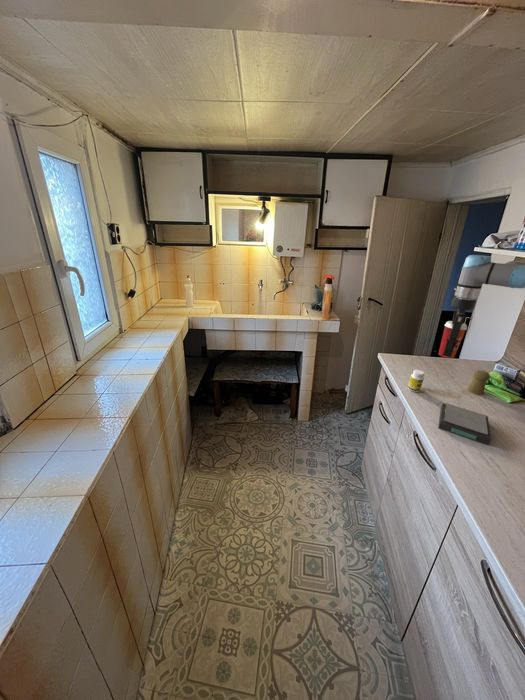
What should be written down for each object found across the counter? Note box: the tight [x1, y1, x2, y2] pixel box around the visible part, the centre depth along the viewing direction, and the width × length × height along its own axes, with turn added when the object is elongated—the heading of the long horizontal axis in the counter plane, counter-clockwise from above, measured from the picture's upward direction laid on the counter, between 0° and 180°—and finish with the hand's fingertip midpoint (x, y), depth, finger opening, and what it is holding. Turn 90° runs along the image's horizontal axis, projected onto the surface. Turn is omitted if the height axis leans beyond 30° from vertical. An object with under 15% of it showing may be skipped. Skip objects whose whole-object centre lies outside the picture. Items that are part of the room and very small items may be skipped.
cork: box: [466, 369, 491, 396], centre depth 114 cm, size 6×6×11 cm
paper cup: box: [438, 320, 468, 359], centre depth 114 cm, size 8×8×14 cm
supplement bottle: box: [407, 369, 425, 393], centre depth 117 cm, size 5×5×8 cm
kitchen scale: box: [437, 402, 492, 446], centre depth 97 cm, size 14×14×3 cm
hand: (447, 352), depth 116 cm, fingers closed on paper cup, 7 cm apart
